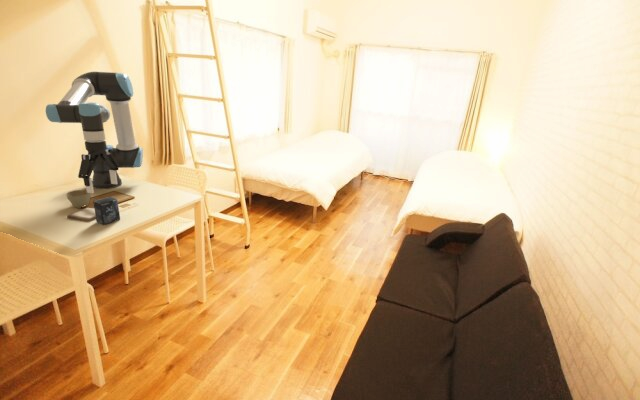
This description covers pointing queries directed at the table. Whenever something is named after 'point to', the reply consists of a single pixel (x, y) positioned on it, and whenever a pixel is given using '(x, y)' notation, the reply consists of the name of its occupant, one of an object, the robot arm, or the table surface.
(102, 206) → the box
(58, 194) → the table surface
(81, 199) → the flower pot
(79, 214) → the board
